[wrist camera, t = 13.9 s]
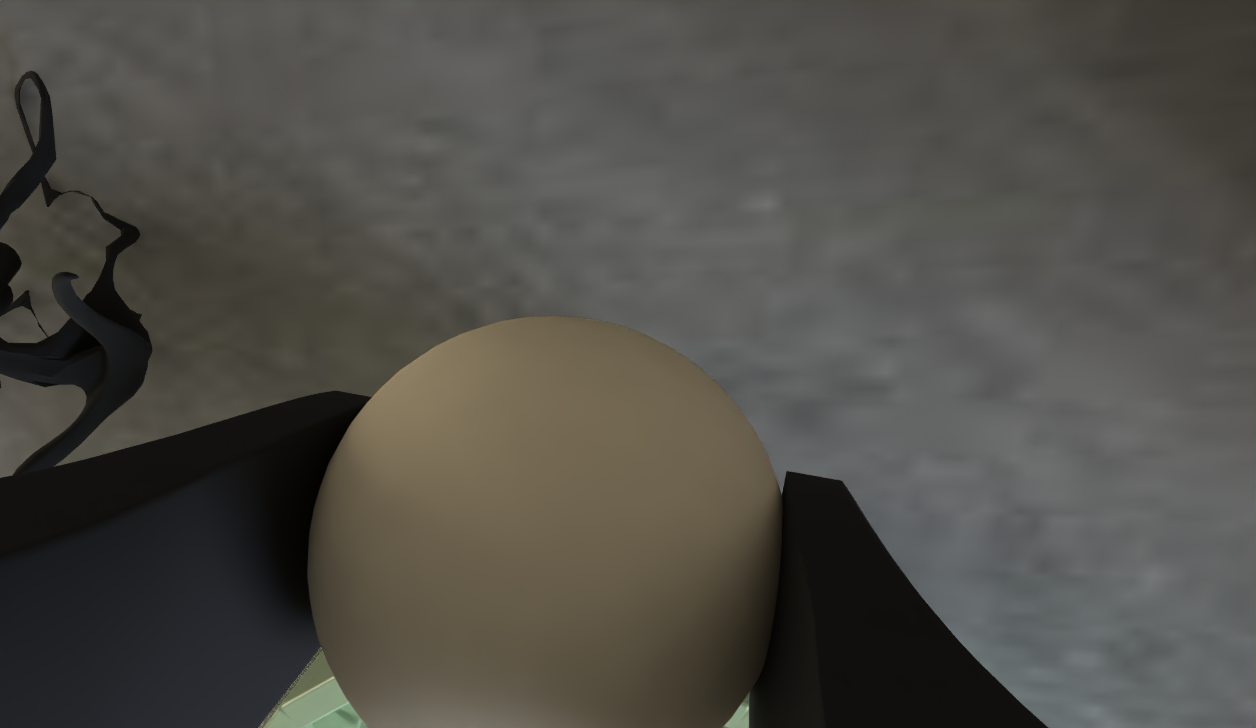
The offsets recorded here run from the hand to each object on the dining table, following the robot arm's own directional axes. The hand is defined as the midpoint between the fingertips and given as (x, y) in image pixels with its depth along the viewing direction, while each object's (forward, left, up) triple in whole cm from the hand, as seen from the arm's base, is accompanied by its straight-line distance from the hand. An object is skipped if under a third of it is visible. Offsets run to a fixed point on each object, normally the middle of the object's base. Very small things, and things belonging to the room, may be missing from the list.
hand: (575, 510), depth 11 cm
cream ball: (0, 0, +1) cm, 1 cm away
